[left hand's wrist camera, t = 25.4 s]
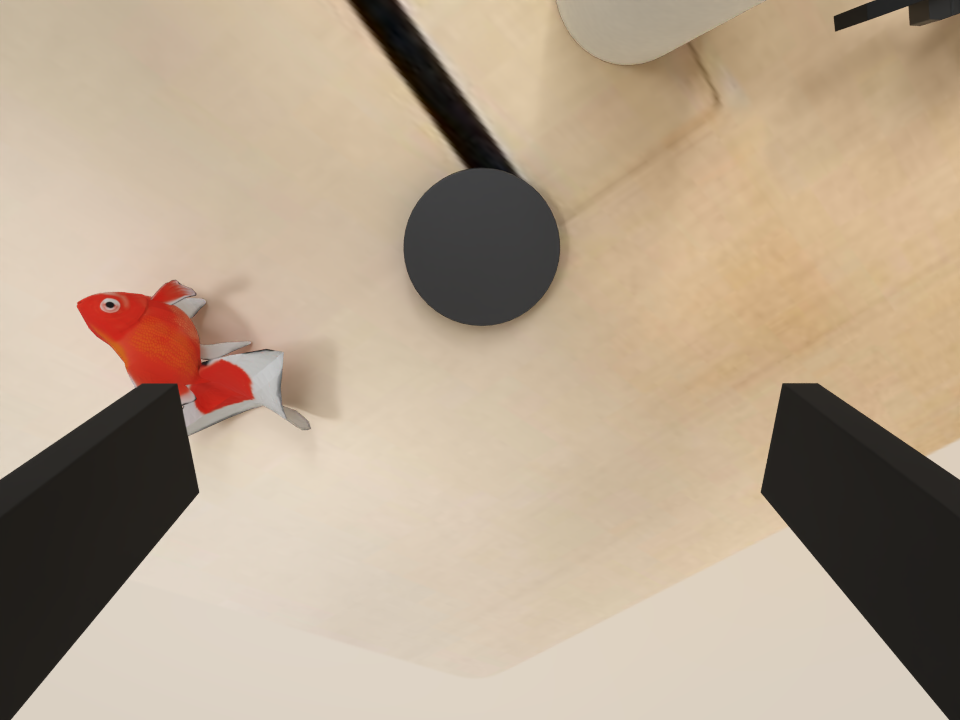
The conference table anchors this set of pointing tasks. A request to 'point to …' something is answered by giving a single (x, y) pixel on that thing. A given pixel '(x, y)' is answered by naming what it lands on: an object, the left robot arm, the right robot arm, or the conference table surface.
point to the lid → (481, 246)
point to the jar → (643, 25)
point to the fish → (186, 355)
